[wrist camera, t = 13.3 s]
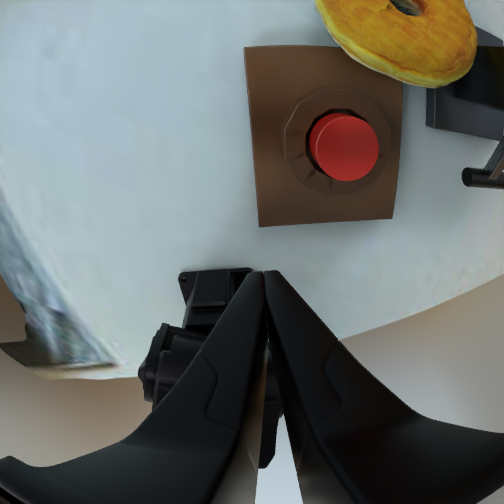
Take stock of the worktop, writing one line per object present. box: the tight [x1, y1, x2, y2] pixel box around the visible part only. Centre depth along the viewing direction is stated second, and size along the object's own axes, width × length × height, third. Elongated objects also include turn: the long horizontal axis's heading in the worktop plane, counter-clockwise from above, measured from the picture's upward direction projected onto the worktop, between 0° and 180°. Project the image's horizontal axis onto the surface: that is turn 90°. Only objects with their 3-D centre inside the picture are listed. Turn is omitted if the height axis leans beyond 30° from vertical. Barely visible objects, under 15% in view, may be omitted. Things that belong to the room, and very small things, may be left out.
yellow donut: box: [315, 0, 478, 88], centre depth 10 cm, size 10×11×4 cm
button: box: [309, 113, 379, 181], centre depth 14 cm, size 4×4×2 cm
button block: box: [244, 45, 402, 227], centre depth 16 cm, size 12×10×4 cm
